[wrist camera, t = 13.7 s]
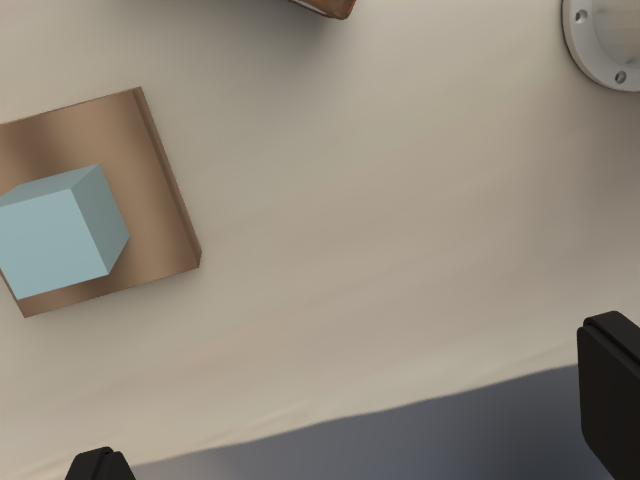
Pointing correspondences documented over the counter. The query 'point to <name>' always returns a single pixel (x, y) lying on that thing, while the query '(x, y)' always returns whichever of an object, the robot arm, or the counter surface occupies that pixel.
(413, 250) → the counter surface
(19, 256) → the block
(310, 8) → the wooden speaker
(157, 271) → the base
